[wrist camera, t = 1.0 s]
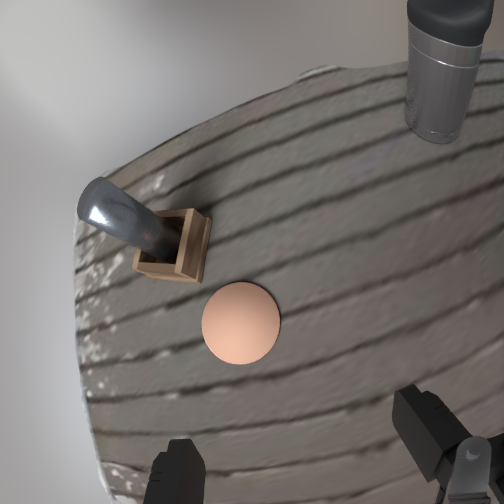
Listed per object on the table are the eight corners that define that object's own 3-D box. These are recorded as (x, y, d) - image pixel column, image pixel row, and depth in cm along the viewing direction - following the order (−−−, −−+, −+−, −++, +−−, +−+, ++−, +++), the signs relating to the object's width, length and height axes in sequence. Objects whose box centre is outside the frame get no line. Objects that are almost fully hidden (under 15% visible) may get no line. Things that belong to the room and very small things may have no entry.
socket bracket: (162, 221, 43) (144, 210, 39) (212, 219, 40) (196, 206, 36) (149, 278, 40) (129, 270, 36) (201, 283, 37) (182, 275, 33)
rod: (165, 231, 41) (86, 180, 26) (193, 231, 39) (113, 173, 25) (159, 263, 39) (72, 221, 25) (186, 265, 38) (98, 218, 23)
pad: (209, 280, 37) (208, 279, 37) (284, 285, 33) (284, 284, 33) (198, 356, 34) (196, 356, 34) (274, 370, 31) (273, 370, 30)
